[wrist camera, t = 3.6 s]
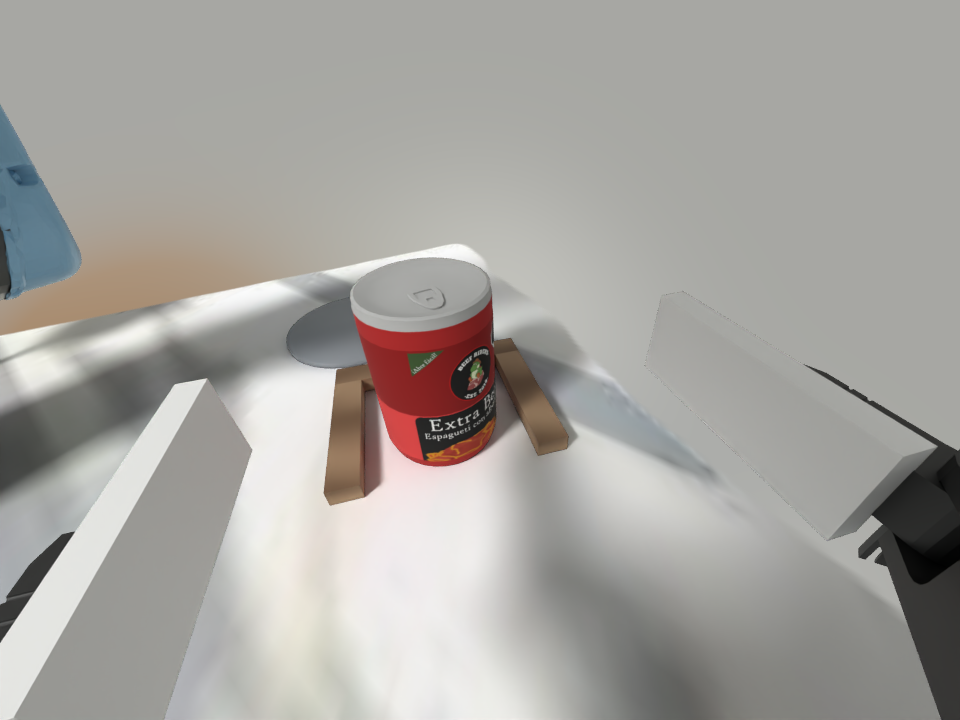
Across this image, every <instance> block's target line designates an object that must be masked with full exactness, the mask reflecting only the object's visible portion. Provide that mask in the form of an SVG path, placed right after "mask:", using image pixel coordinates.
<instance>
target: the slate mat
mask: <svg viewBox="0 0 960 720" xmlns="http://www.w3.org/2000/svg"><path fill="white" fill-rule="evenodd" d="M287 346H288V348H289V351H290V353H291V354H292V356H293V357H294V358H295V359H297V360H298V361H300V362H302V363H304V364H307V365H310V366H314V367H320V368H345V367H353V366H358V365H363V364H366V363H367V360H366V357H365V353H364V350H363V347H362V343H361V340H360V337H359V333H358V330H357V326H356V322H355V318H354V315H353V311H352V308H351V300H350V298H345V299H341V300H338V301H334V302H331V303H328V304H326V305H323V306H321V307H319V308H317V309H315V310H313V311H311V312H309V313H308V314H306V315H305V316H303V317H302V318H301V319H299V320H298V321H297V322H296V323H295V324H294V325H293V326H292V328H291V329H290V331H289V333H288V335H287Z"/></svg>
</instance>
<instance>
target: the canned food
mask: <svg viewBox="0 0 960 720" xmlns="http://www.w3.org/2000/svg"><path fill="white" fill-rule="evenodd" d="M350 300H351V308H352V311H353V315H354V318H355V322H356V326H357V330H358V333H359V337H360V340H361V343H362V347H363V350H364V353H365V357H366V360H367V364H368V367H369V370H370V374H371V377H372V381H373V384H374V387H375V391H376V394H377V397H378V401H379V404H380V408H381V411H382V414H383V418H384V421H385V424H386V428H387V431H388V434H389V437H390V439H391V441H392V442H393V444H394V445H395V446H396V447H397V449H398V450H399V451H400V452H401V453H402V454H403V455H404V456H406V457H407V458H409V459H410V460H412V461H414V462H417V463H420V464H423V465H428V466H449V465H454V464H458V463H460V462H463V461H466V460H468V459H470V458H471V457H473V456H475V455H476V454H477V453H478V452H480V451H481V450H482V449H483V448H484V447H485V445H486V444H487V443H488V441H489V439H490V437H491V435H492V432H493V430H494V427H495V422H496V395H495V363H494V330H493V308H492V291H491V286H490V279H489V277H488V275H487V274H486V273H485V272H484V271H483V270H482V269H481V268H479V267H477V266H475V265H473V264H470V263H467V262H464V261H460V260H455V259H448V258H417V259H409V260H404V261H399V262H395V263H392V264H388V265H385V266H383V267H380V268H378V269H376V270H374V271H372V272H370V273H368V274H366V275H365V276H363V277H362V278H360V279H359V280H358V281H357V282H356V283H355V284H354V286H353V287H352V289H351V291H350Z"/></svg>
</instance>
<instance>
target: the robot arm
mask: <svg viewBox="0 0 960 720" xmlns="http://www.w3.org/2000/svg"><path fill="white" fill-rule="evenodd" d="M81 260H82V259H81V253H80V250H79V248H78V246H77V244H76V242H75V240H74V238H73V236H72V234H71V232H70V230H69V228H68V227H67V225H66V223H65V221H64V219H63V218H62V215H61V214H60V212H59V210H58V208H57V206H56V205H55V203H54V201H53V199H52V197H51V195H50V194H49V192H48V190H47V188H46V187H45V185H44V183H43V181H42V180H41V178H40V177H39V175H38V173H37V171H36V169H35V167H34V165H33V164H32V161H31V160H30V158H29V156H28V154H27V152H26V150H25V148H24V146H23V145H22V143H21V141H20V139H19V137H18V135H17V133H16V132H15V130H14V128H13V126H12V124H11V123H10V121H9V119H8V117H7V116H6V114H5V112H4V110H3V109H2V107H1V105H0V300H3V299H6V300H9V299H14V298H16V297H18V296H19V295H21V293H22V292H25V291H29V290H32V289H36V288H39V287H42V286H46V285H49V284H52V283H55V282H59V281H62V280H65V279H67V278H69V277H71V276H73V275H74V274H75V273H76V272H77V271H78V269H79V268H80V265H81ZM645 366H646V367H647V368H648V369H649V370H650V371H651V372H652V373H653V374H654V375H655V376H656V377H657V378H658V379H659V380H660V381H661V382H662V383H663V384H664V385H665V386H666V387H667V388H668V389H669V390H670V391H671V392H673V393H674V394H675V395H676V396H677V397H678V398H679V399H680V400H681V401H682V402H683V403H684V404H685V405H686V406H687V407H688V408H689V409H690V410H691V411H692V412H693V413H694V414H695V415H696V416H697V417H698V418H700V419H701V420H702V421H703V422H704V423H705V424H706V425H707V426H708V427H709V428H710V429H711V430H712V431H713V432H714V433H715V434H716V435H717V436H718V437H719V438H720V439H721V440H722V441H723V442H724V443H726V444H727V445H728V446H729V447H730V448H731V449H732V450H733V451H734V452H735V453H736V454H737V455H738V456H739V457H740V458H741V459H742V460H743V461H744V462H745V463H746V464H747V465H748V466H749V467H750V468H751V469H753V470H754V471H755V472H756V473H757V474H758V475H759V476H760V477H761V478H762V479H763V480H764V481H765V482H766V483H767V484H768V485H769V486H770V487H771V488H772V489H773V490H774V491H775V492H776V493H777V494H778V495H780V496H781V497H782V498H783V499H784V500H785V501H786V502H787V503H788V504H789V505H790V506H791V507H792V508H793V509H794V510H795V511H796V512H797V513H798V514H799V515H800V516H801V517H802V518H803V519H805V521H807V522H808V523H809V524H810V525H811V526H812V527H813V528H814V529H815V530H816V531H817V532H818V533H819V534H820V535H821V536H822V537H823V538H824V539H825V540H826V541H828V540H831V539H834V538H837V537H841V536H844V535H846V534H850V533H853V532H856V531H857V530H858V529H859V528H860V527H861V526H862V524H863V523H864V522H865V521H866V520H867V519H868V518H869V517H870V516H871V515H873V516H874V517H875V518H876V519H877V520H879V521H880V522H881V523H882V524H883V525H882V526H881V527H880V528H879V529H878V530H877V531H875V533H874V534H872V535H871V536H870V537H869V538H868V539H867V540H866V541H865V542H864V543H863V544H862V545H861V546H860V547H859V551H858V553H859V558H862V559H866V558H867V557H868V556H869V555H871V554H872V553H873V552H874V551H875V550H876V549H877V548H878V547H881V549H882V552H881V553H880V554H879V555H878V556H877V557H876V559H875V563H877V564H881V565H884V566H887V567H888V569H889V572H890V575H891V578H892V581H893V584H894V586H895V589H896V592H897V595H898V598H899V601H900V603H901V606H902V609H903V612H904V615H905V618H906V620H907V623H908V626H909V629H910V632H911V635H912V638H913V640H914V643H915V646H916V649H917V652H918V655H919V657H920V660H921V663H922V666H923V669H924V672H925V674H926V677H927V680H928V683H929V686H930V689H931V692H932V694H933V697H934V700H935V703H936V706H937V709H938V711H939V714H940V717H941V720H960V450H959V451H957V450H955V449H954V448H952V447H950V446H948V445H946V444H944V443H943V442H941V441H939V440H938V439H936V438H934V437H933V436H931V435H929V434H928V433H926V432H924V431H922V430H921V429H919V428H917V427H916V426H914V425H912V424H911V423H909V422H907V421H906V420H904V419H902V418H901V417H899V416H897V415H896V414H894V413H892V412H891V411H889V410H887V409H885V408H884V407H882V406H881V405H879V404H877V403H876V402H874V401H868V399H867V397H866V396H864V395H862V394H861V393H859V392H857V391H856V390H854V389H853V390H850V389H849V386H847V385H845V384H844V383H842V382H840V381H839V380H837V379H835V378H834V377H832V376H830V375H829V374H827V373H825V372H822V371H820V370H817V369H814V368H812V367H809V366H807V365H804V364H802V363H800V362H798V361H797V360H795V359H793V358H792V357H790V356H789V355H787V354H785V353H784V352H782V351H780V350H779V349H777V348H775V347H774V346H772V345H770V344H769V343H767V342H766V341H764V340H762V339H761V338H759V337H757V336H756V335H754V334H752V333H751V332H749V331H747V330H746V329H744V328H743V327H741V326H739V325H738V324H736V323H734V322H733V321H731V320H729V319H728V318H726V317H725V316H722V315H721V314H719V313H718V312H716V311H715V310H713V309H711V308H710V307H708V306H707V305H705V304H703V303H702V302H700V301H698V300H697V299H695V298H693V297H692V296H690V295H688V294H687V293H685V292H677V293H672V294H666V295H662V297H661V301H660V305H659V309H658V313H657V317H656V321H655V326H654V329H653V334H652V338H651V342H650V346H649V350H648V354H647V359H646V362H645ZM251 452H252V448H251V447H250V445H249V444H248V442H247V440H246V439H245V437H244V436H243V434H242V433H241V431H240V429H239V428H238V426H237V425H236V423H235V421H234V420H233V418H232V417H231V415H230V413H229V412H228V410H227V409H226V407H225V405H224V404H223V402H222V401H221V399H220V397H219V396H218V394H217V393H216V391H215V389H214V388H213V386H212V385H211V383H210V381H209V380H208V378H206V379H201V380H195V381H190V382H184V383H179V384H175V385H174V386H173V388H172V389H171V391H170V392H169V394H168V395H167V397H166V398H165V400H164V401H163V403H162V404H161V405H160V407H159V408H158V410H157V411H156V413H155V414H154V416H153V417H152V419H151V420H150V422H149V423H148V425H147V426H146V428H145V429H144V431H143V432H142V434H141V435H140V437H139V438H138V440H137V441H136V443H135V444H134V446H133V447H132V448H131V450H130V451H129V453H128V454H127V456H126V457H125V459H124V460H123V462H122V463H121V465H120V466H119V468H118V469H117V471H116V472H115V474H114V475H113V477H112V478H111V480H110V481H109V483H108V484H107V486H106V487H105V489H104V490H103V491H102V493H101V494H100V496H99V497H98V499H97V500H96V502H95V503H94V505H93V506H92V508H91V509H90V511H89V512H88V514H87V515H86V517H85V518H84V520H83V521H82V523H81V524H80V526H79V527H78V529H77V530H76V531H75V532H70V533H66V534H62V535H61V536H60V537H59V538H58V539H57V540H56V541H54V542H53V543H52V544H51V545H50V546H49V547H48V548H47V549H46V550H45V551H44V552H43V553H42V554H40V555H39V556H38V557H37V558H36V559H35V560H34V561H33V562H32V563H31V564H30V565H29V566H28V568H27V569H26V570H25V572H24V573H23V575H22V576H21V577H20V579H19V580H18V581H17V583H16V584H15V586H14V587H13V588H12V590H11V591H10V592H9V594H8V595H7V597H6V598H7V601H6V603H3V604H1V605H0V720H164V718H165V715H166V712H167V709H168V706H169V703H170V700H171V697H172V694H173V690H174V687H175V684H176V681H177V678H178V675H179V672H180V669H181V666H182V663H183V660H184V657H185V654H186V651H187V648H188V645H189V642H190V639H191V636H192V632H193V629H194V626H195V623H196V620H197V617H198V614H199V611H200V608H201V605H202V602H203V599H204V596H205V593H206V590H207V587H208V584H209V581H210V578H211V574H212V571H213V568H214V565H215V562H216V559H217V556H218V553H219V550H220V547H221V544H222V541H223V538H224V535H225V532H226V529H227V526H228V523H229V520H230V516H231V513H232V510H233V507H234V504H235V501H236V498H237V495H238V492H239V489H240V486H241V483H242V480H243V477H244V474H245V471H246V468H247V465H248V462H249V458H250V455H251Z"/></svg>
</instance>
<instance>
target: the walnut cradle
mask: <svg viewBox="0 0 960 720" xmlns="http://www.w3.org/2000/svg"><path fill="white" fill-rule="evenodd" d="M494 363H495V366H496V368H497V370H498V372H499V374H500V376H501V378H502V380H503V382H504V384H505V387H506V389H507V391H508V393H509V395H510V397H511V399H512V401H513V403H514V406H515V408H516V410H517V412H518V414H519V416H520V418H521V420H522V423H523V425H524V427H525V429H526V431H527V433H528V435H529V437H530V439H531V442H532V444H533V446H534V448H535V450H536V452H537V454H538V456H539V455H543V454H547V453H551V452H555V451H559V450H564V449H567V444H568V437H569V436H568V434H567V433H566V431H565V429H564V428H563V426H562V424H561V422H560V421H559V419H558V417H557V416H556V414H555V412H554V411H553V409H552V407H551V405H550V404H549V402H548V400H547V399H546V397H545V395H544V394H543V392H542V390H541V388H540V387H539V385H538V383H537V382H536V380H535V378H534V376H533V375H532V373H531V371H530V370H529V368H528V366H527V365H526V363H525V361H524V359H523V358H522V356H521V354H520V353H519V351H518V349H517V348H516V346H515V344H514V342H513V341H512V339H511V338H508V339H502V340H497V341H494ZM374 389H375V387H374V384H373V381H372V377H371V374H370V370H369V367H368V364H365V365H360V366H354V367H349V368H343V369H338V370H337V371H336V380H335V390H334V400H333V409H332V419H331V428H330V438H329V448H328V457H327V467H326V476H325V486H324V495H325V497H326V499H327V501H328V503H329V505H334V504H338V503H342V502H346V501H351V500H355V499H359V498H363V497H364V483H365V391H369V390H374Z"/></svg>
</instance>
